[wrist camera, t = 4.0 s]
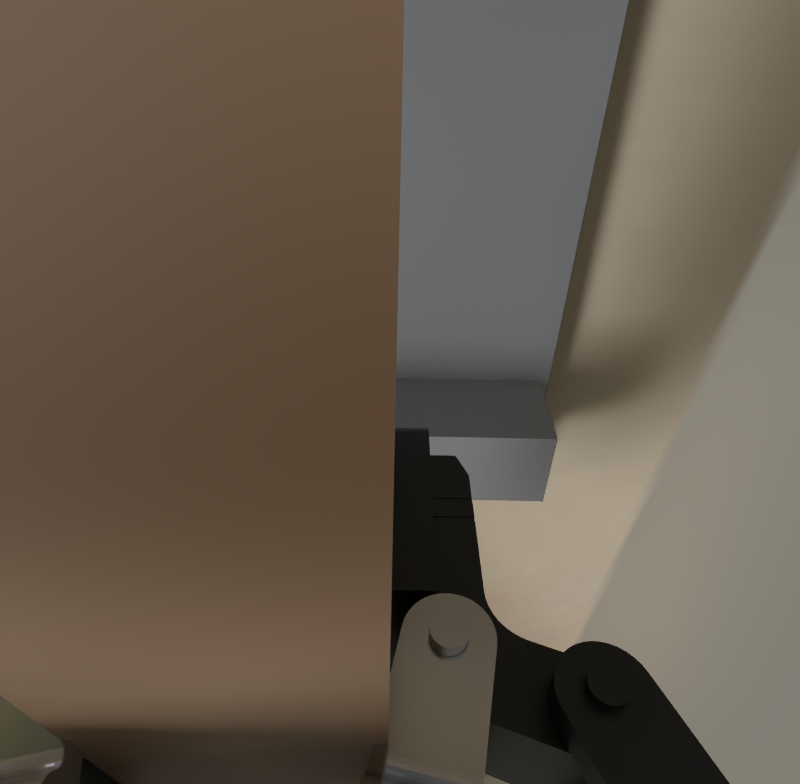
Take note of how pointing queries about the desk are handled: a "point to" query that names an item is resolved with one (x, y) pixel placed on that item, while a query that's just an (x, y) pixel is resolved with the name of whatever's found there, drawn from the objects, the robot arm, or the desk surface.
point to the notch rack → (494, 220)
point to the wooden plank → (200, 381)
